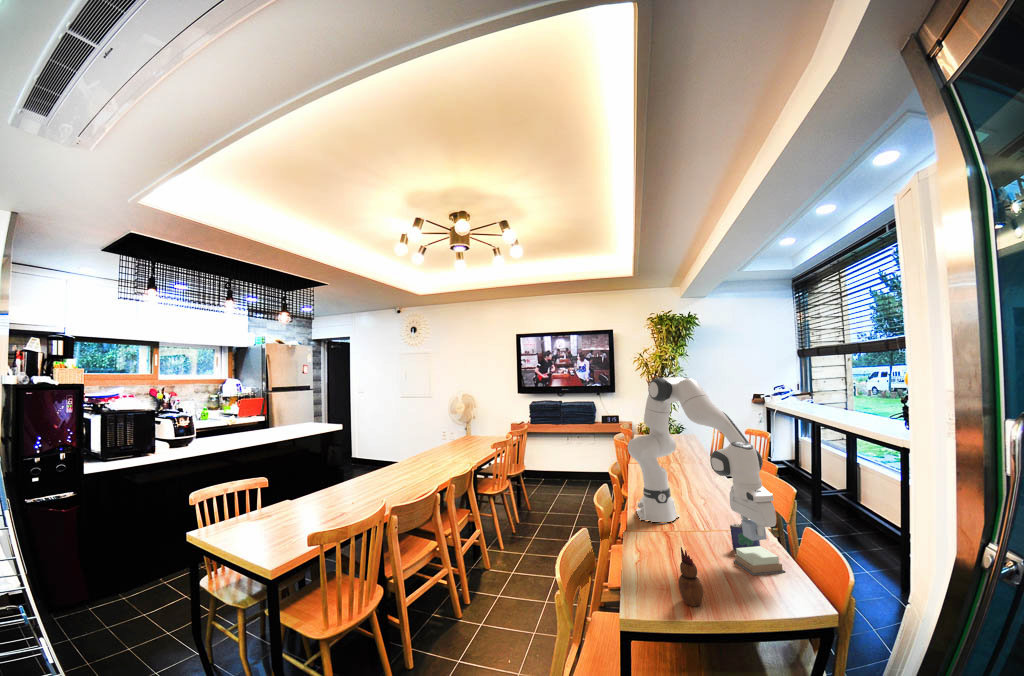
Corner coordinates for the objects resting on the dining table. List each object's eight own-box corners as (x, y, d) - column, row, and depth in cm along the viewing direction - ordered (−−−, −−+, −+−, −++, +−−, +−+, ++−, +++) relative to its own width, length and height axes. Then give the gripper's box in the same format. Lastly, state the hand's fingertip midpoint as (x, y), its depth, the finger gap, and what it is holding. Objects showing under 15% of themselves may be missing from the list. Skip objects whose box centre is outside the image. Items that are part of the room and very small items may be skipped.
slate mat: (733, 561, 142) (733, 559, 142) (763, 558, 143) (763, 557, 143) (753, 575, 131) (752, 574, 131) (785, 572, 132) (785, 571, 132)
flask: (760, 550, 149) (756, 520, 150) (762, 553, 146) (757, 523, 148) (732, 548, 152) (728, 519, 154) (733, 551, 150) (729, 521, 151)
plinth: (735, 560, 142) (733, 547, 142) (762, 557, 142) (761, 545, 143) (753, 573, 132) (751, 559, 132) (782, 570, 132) (780, 556, 133)
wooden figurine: (677, 598, 121) (671, 545, 122) (695, 596, 121) (689, 543, 123) (688, 610, 114) (682, 554, 116) (708, 608, 114) (701, 552, 116)
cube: (743, 535, 140) (741, 520, 141) (757, 534, 141) (755, 519, 141) (752, 540, 135) (750, 525, 136) (766, 539, 136) (764, 523, 136)
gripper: (722, 484, 150) (727, 523, 148) (758, 498, 130) (764, 543, 128) (739, 482, 150) (744, 521, 149) (776, 497, 130) (783, 542, 128)
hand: (754, 532), depth 138 cm, fingers closed on cube, 5 cm apart
